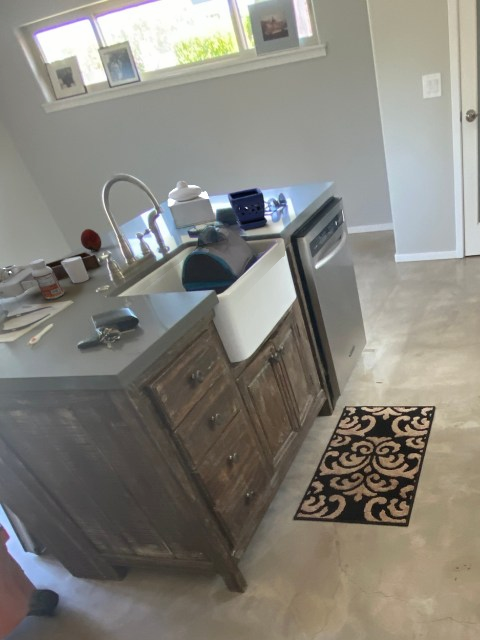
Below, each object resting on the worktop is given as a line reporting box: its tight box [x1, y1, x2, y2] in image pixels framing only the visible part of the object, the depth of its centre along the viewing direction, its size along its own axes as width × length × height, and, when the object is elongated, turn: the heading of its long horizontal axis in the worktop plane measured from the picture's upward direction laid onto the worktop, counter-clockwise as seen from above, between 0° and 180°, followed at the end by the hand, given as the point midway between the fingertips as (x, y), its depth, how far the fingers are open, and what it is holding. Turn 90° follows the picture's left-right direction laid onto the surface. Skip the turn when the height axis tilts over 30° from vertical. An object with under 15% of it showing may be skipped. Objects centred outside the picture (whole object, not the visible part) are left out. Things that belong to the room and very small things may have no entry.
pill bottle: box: [28, 258, 65, 300], centre depth 170 cm, size 6×6×11 cm
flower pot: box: [227, 187, 268, 231], centre depth 210 cm, size 13×13×12 cm
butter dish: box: [167, 180, 216, 230], centre depth 229 cm, size 18×18×16 cm
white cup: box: [61, 257, 90, 284], centre depth 182 cm, size 7×7×7 cm
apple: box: [80, 228, 102, 252], centre depth 212 cm, size 7×8×8 cm
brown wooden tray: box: [46, 251, 101, 281], centre depth 193 cm, size 18×10×4 cm, turn 134°
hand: (44, 277), depth 170 cm, fingers open, 8 cm apart
